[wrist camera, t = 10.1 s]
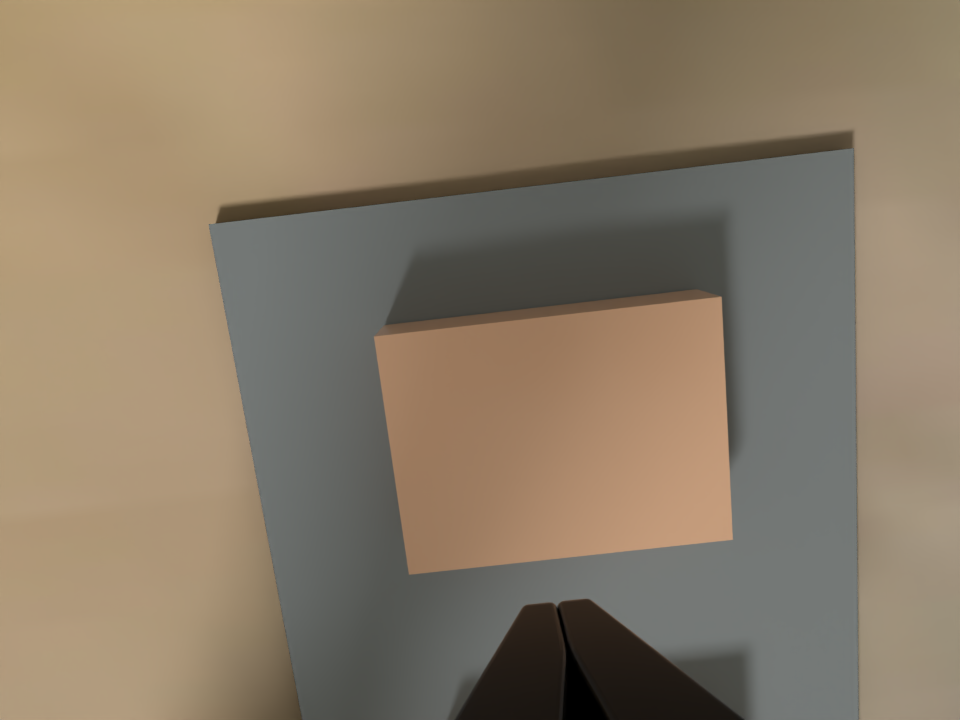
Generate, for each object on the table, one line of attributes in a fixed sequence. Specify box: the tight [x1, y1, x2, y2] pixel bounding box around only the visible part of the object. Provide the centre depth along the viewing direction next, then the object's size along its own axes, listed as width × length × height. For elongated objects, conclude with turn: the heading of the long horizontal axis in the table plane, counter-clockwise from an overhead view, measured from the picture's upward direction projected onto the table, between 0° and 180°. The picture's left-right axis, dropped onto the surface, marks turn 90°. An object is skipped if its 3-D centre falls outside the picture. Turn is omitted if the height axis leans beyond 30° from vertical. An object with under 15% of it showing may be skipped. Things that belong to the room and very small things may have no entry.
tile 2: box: [374, 289, 733, 575], centre depth 17 cm, size 6×2×8 cm
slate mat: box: [209, 148, 859, 720], centre depth 20 cm, size 24×16×1 cm, turn 7°
